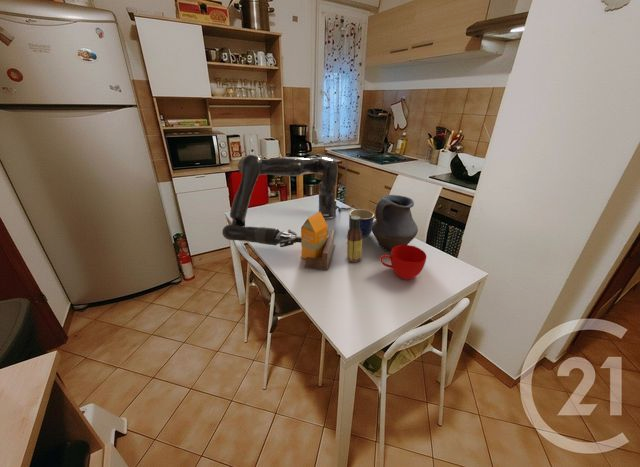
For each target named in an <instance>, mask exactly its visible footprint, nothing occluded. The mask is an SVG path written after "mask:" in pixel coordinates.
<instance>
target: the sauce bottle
mask: <svg viewBox="0 0 640 467" xmlns="http://www.w3.org/2000/svg"><path fill="white" fill-rule="evenodd" d="M350 220H351V226H350V228H349V227H348V230H347V237H346V238H347V240H346V244H347V245H346V258H347V261H349V262H352V263H358V262H360V261H361V260H362V252H363V237H362V232H361V229H360V220H361V218H360V217H359V216H351V218H350Z"/></svg>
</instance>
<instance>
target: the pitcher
mask: <svg viewBox="0 0 640 467" xmlns="http://www.w3.org/2000/svg"><path fill="white" fill-rule="evenodd" d="M414 205H415V202H414V199H412V198H410V197H409V196H405V195H397V194H386V195H384V196H382V197H381V198H380V200H378V202H377V204H376V206H375V212H374V217H375V219H374V221H373V224H372V227H371V229H372V231H371V233H372V234H373V236H374V238H375V239H376V242H377V244H378V245H379V247H380V248H382V249H383V250H385V251H387V252H391V251H392V249H393V248H394V247H395V246H398V245H409V244H410V243H411V242H412V241H413V240H414V239H415V238H416V237H417V234H418V232H419V226H418V225H417V223H416V221H415V220H414V218H413V215H412V211H411V208H413V207H414Z"/></svg>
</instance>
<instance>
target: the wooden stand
mask: <svg viewBox="0 0 640 467" xmlns="http://www.w3.org/2000/svg"><path fill="white" fill-rule="evenodd" d="M335 232H336V231H335V230H329V234H328V235H327V238H328V239H327V242H326V245H325V248H324V250H323V258H312V257H306V259H305V268H306V269H313V270H322V271H323V270H325V271H328V268H329V265H330V263H331V262H330V261H331V258H332V255H333V251H334V248H335Z"/></svg>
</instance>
